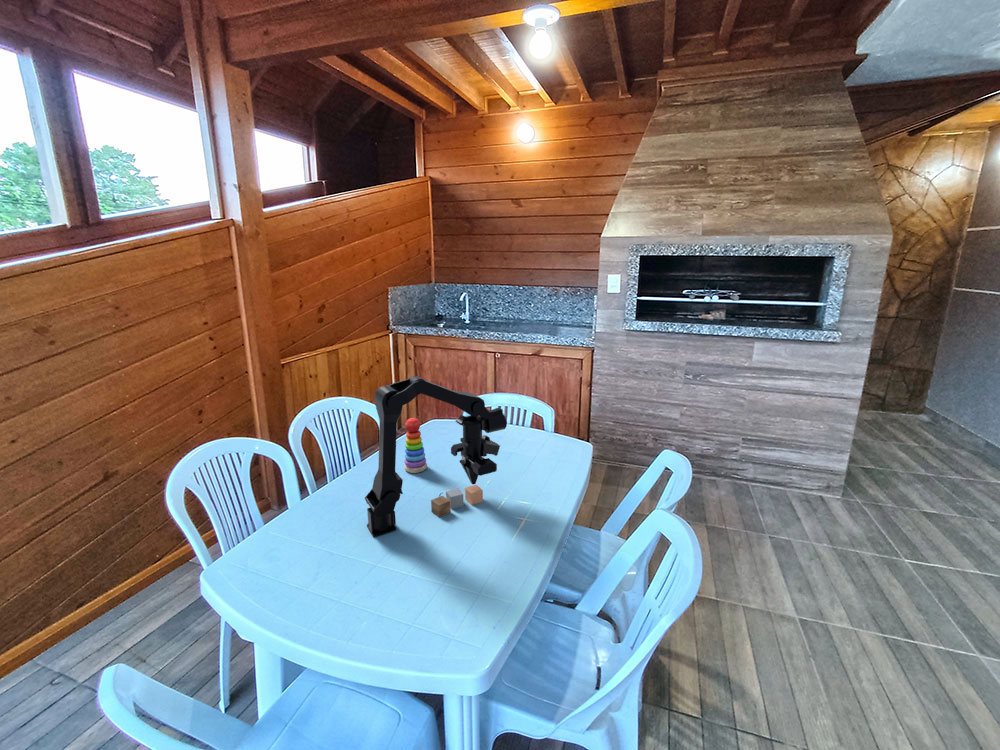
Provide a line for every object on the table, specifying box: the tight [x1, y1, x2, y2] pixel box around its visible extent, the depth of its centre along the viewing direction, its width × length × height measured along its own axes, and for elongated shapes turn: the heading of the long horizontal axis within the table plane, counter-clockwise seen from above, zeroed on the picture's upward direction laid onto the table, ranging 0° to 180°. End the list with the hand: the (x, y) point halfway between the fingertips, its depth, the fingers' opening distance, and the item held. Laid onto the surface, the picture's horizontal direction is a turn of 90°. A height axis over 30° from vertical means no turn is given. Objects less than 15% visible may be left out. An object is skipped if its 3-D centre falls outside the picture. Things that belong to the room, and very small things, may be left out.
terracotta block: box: [464, 484, 484, 506], centre depth 145 cm, size 4×4×4 cm
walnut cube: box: [430, 495, 452, 518], centre depth 139 cm, size 4×4×4 cm
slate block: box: [445, 488, 465, 510], centre depth 143 cm, size 4×4×4 cm
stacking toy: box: [403, 417, 428, 474], centre depth 165 cm, size 8×8×19 cm
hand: (473, 483), depth 144 cm, fingers closed
